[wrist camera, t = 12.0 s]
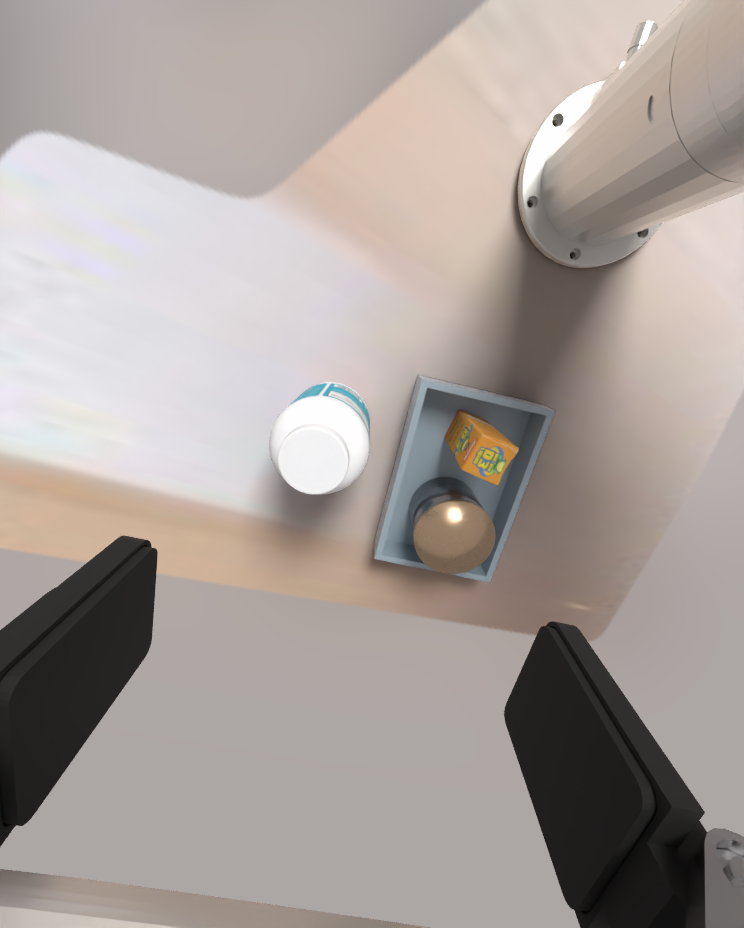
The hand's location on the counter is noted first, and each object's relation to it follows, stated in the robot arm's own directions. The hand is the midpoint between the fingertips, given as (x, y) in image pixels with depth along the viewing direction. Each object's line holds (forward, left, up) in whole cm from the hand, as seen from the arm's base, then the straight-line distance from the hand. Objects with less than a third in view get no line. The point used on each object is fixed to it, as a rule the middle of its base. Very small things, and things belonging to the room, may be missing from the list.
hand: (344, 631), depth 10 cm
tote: (+5, +10, -30) cm, 32 cm away
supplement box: (0, +10, -30) cm, 31 cm away
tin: (+8, +10, -30) cm, 33 cm away
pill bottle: (+2, -3, -31) cm, 31 cm away
